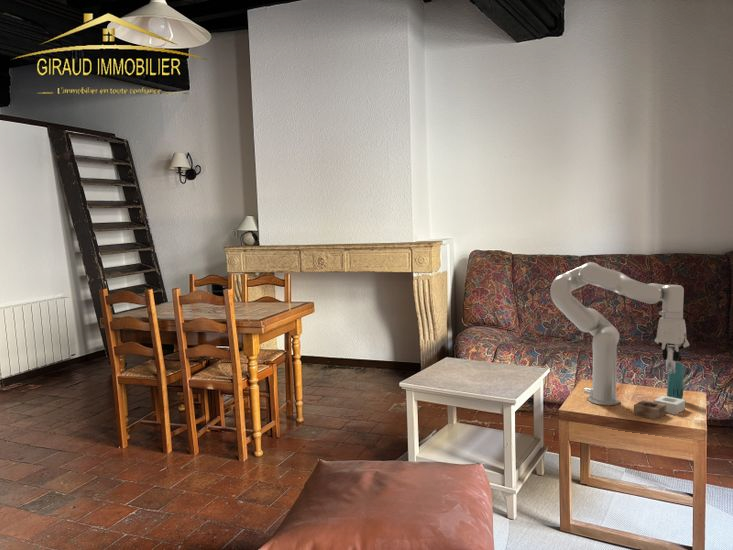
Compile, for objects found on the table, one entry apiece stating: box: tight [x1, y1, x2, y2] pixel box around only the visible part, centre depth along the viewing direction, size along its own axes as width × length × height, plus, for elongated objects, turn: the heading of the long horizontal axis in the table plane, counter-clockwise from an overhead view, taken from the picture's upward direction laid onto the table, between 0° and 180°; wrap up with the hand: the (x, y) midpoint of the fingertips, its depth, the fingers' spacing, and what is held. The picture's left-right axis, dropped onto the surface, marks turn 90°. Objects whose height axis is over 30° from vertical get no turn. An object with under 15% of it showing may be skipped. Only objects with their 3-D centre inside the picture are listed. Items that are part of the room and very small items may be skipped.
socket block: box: [633, 399, 667, 421], centre depth 245 cm, size 9×9×4 cm
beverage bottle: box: [666, 355, 685, 399], centre depth 262 cm, size 6×7×20 cm
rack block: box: [653, 395, 686, 415], centre depth 251 cm, size 9×9×4 cm
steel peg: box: [665, 344, 677, 374], centre depth 249 cm, size 3×3×11 cm
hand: (670, 359), depth 250 cm, fingers closed on steel peg, 3 cm apart
